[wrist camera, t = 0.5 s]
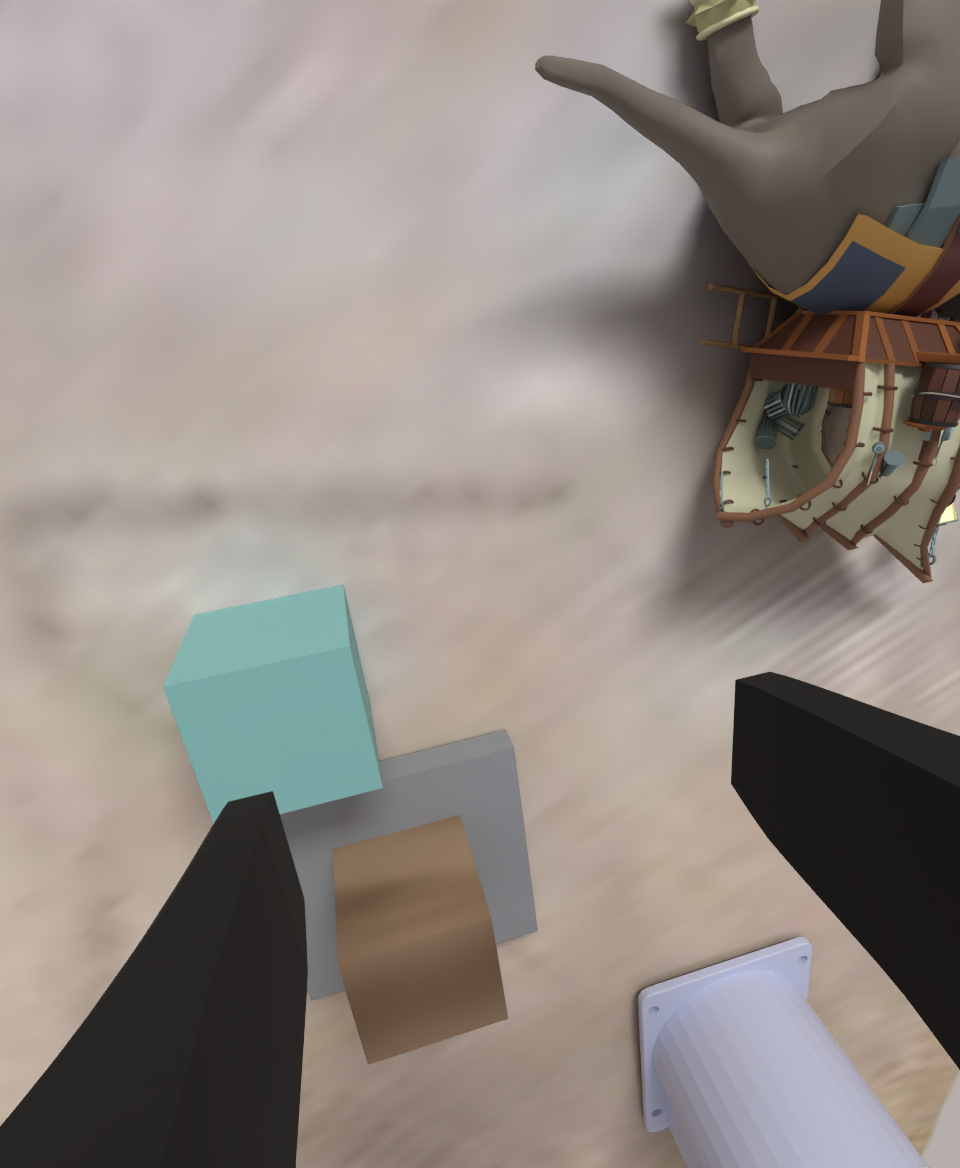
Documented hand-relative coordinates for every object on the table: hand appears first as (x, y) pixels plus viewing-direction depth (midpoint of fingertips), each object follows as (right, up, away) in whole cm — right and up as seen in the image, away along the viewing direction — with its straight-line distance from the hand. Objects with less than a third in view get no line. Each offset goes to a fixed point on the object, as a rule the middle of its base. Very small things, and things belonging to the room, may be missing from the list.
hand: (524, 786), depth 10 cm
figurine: (+9, +11, +9) cm, 17 cm away
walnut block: (-3, -6, +11) cm, 13 cm away
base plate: (-3, -6, +12) cm, 14 cm away
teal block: (-6, +1, +9) cm, 11 cm away
